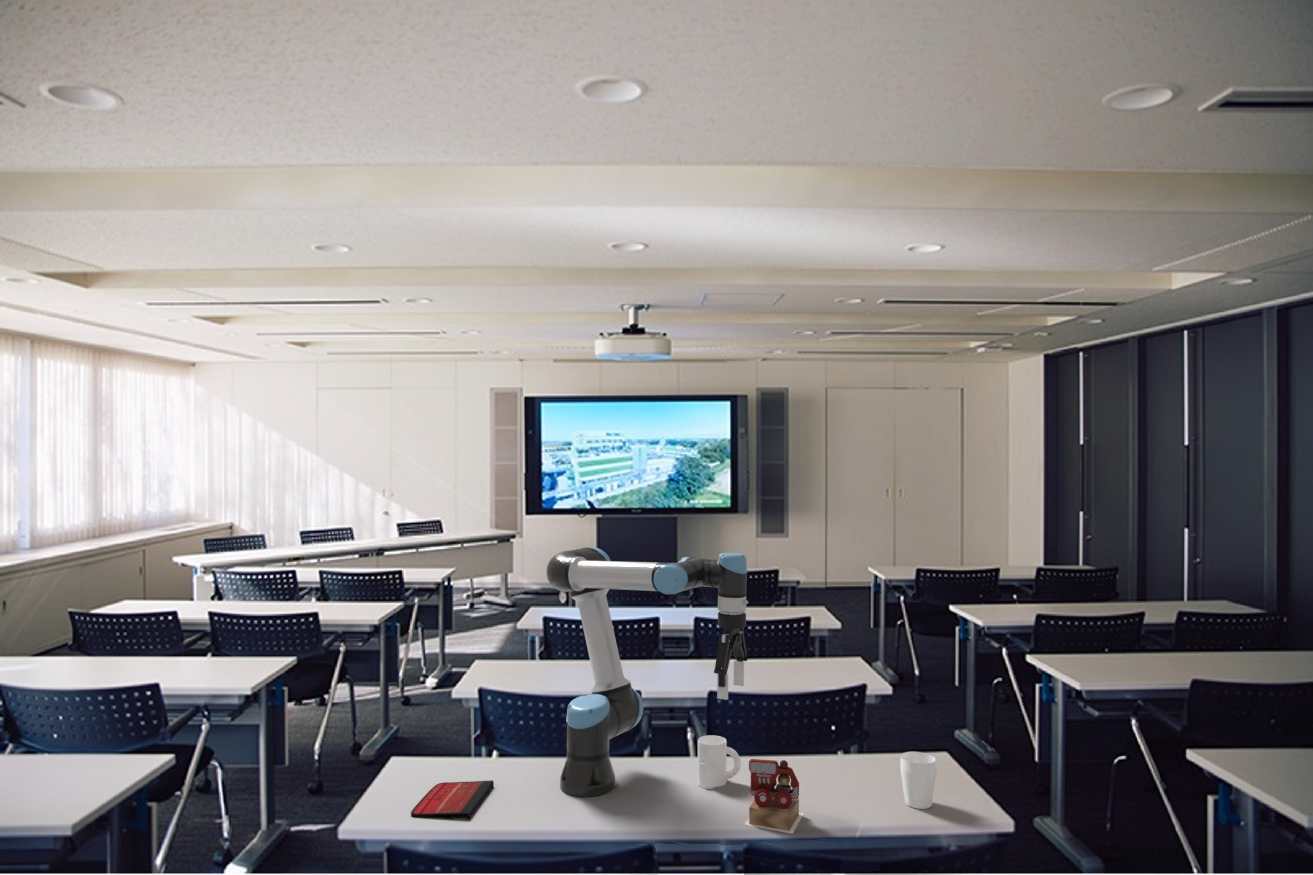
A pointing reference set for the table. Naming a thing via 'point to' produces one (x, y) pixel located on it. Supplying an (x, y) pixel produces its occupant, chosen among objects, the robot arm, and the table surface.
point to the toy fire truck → (772, 782)
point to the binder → (452, 799)
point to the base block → (774, 815)
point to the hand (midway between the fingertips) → (730, 691)
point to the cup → (918, 779)
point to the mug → (715, 762)
